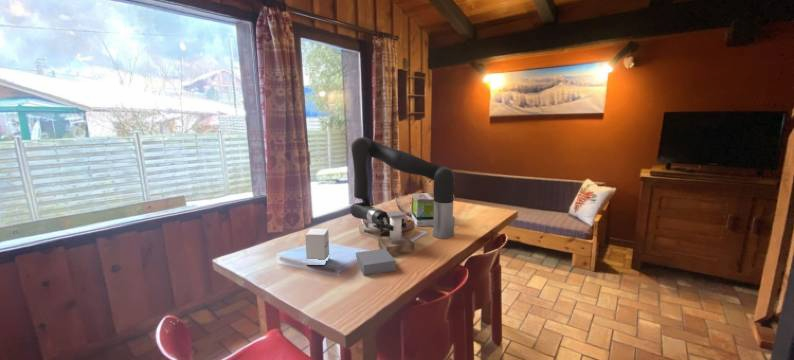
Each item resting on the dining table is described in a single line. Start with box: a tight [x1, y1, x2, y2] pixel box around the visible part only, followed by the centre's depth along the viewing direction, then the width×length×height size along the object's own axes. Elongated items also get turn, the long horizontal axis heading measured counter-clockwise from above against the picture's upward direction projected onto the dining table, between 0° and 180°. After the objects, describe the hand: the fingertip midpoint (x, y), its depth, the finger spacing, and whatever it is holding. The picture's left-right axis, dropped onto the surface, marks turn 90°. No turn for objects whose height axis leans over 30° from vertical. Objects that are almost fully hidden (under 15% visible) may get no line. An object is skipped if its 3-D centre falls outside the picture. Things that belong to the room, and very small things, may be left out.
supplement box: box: [305, 228, 330, 260], centre depth 126 cm, size 7×7×13 cm
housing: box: [386, 210, 406, 244], centre depth 138 cm, size 6×6×12 cm
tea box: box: [411, 192, 434, 227], centre depth 176 cm, size 15×10×15 cm
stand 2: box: [377, 233, 415, 257], centre depth 140 cm, size 12×12×4 cm
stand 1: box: [355, 248, 396, 277], centre depth 123 cm, size 12×12×4 cm
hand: (399, 227), depth 136 cm, fingers open, 6 cm apart
